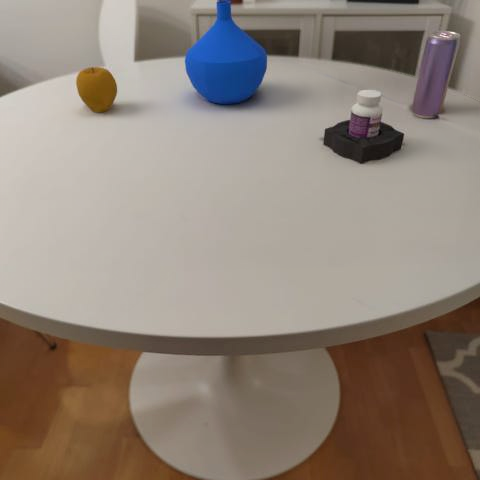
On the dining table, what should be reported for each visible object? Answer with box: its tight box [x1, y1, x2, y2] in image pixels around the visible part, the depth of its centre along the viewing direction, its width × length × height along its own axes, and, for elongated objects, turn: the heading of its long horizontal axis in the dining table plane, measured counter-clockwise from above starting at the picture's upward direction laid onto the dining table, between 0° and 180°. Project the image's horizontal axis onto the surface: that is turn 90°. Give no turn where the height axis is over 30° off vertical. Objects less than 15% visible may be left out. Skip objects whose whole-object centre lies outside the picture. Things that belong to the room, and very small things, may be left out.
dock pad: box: [323, 119, 405, 165], centre depth 84 cm, size 11×11×3 cm
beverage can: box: [410, 30, 461, 119], centre depth 91 cm, size 6×6×15 cm
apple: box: [75, 66, 118, 113], centre depth 100 cm, size 8×8×9 cm
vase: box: [184, 0, 268, 105], centre depth 100 cm, size 18×18×19 cm
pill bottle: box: [349, 89, 383, 138], centre depth 81 cm, size 5×5×10 cm
